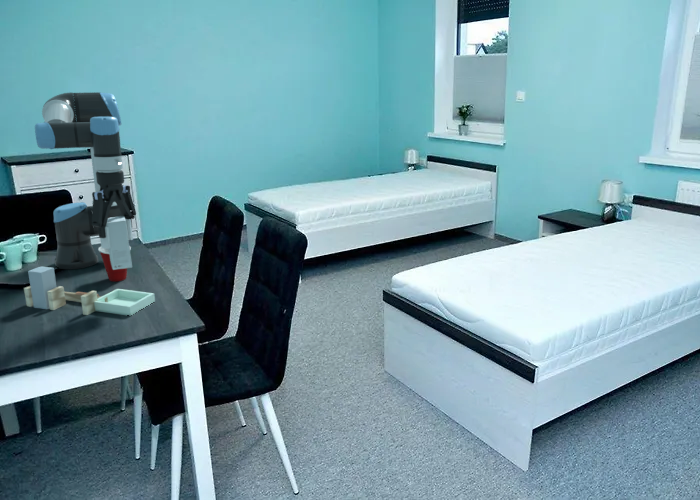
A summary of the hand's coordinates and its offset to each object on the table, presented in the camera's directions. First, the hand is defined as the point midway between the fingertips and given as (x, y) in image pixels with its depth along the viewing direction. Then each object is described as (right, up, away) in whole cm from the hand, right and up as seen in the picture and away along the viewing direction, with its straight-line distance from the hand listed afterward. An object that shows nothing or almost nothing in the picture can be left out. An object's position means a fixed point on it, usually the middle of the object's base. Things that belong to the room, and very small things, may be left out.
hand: (117, 243), depth 170 cm
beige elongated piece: (-19, -20, +6) cm, 28 cm away
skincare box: (0, -7, +2) cm, 7 cm away
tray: (0, -20, +6) cm, 21 cm away
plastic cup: (-12, -13, +30) cm, 35 cm away
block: (-25, -20, +6) cm, 32 cm away
